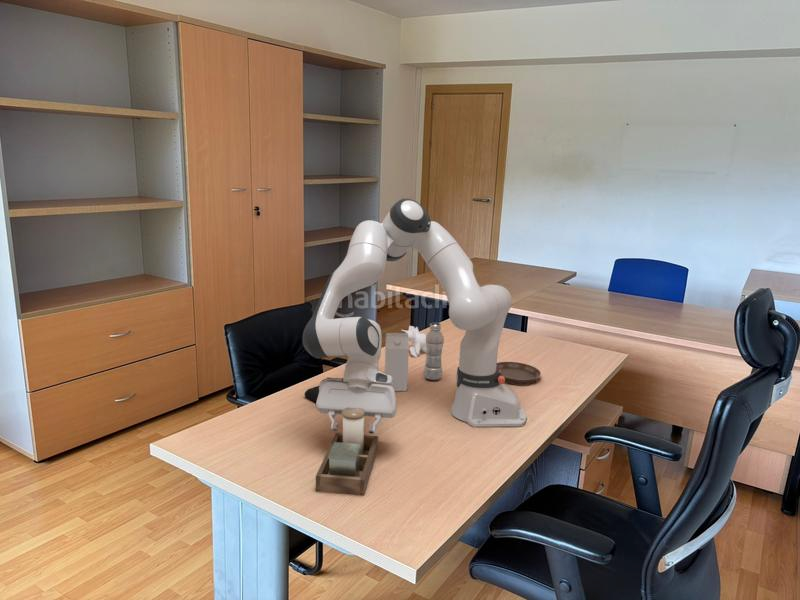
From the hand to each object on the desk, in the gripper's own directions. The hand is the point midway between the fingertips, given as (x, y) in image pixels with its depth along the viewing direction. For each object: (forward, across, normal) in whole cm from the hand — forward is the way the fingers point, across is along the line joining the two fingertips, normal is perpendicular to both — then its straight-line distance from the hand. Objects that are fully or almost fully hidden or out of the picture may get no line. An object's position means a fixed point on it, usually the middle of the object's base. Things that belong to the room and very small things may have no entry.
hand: (352, 431), depth 140 cm
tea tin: (+12, 0, -1) cm, 12 cm away
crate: (+9, 0, +3) cm, 10 cm away
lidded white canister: (+5, 0, +6) cm, 8 cm away
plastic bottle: (-37, +17, +50) cm, 64 cm away
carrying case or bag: (-19, -15, +33) cm, 41 cm away
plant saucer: (-41, +46, +55) cm, 83 cm away
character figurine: (-55, +9, +68) cm, 88 cm away
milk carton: (-30, +5, +43) cm, 52 cm away
